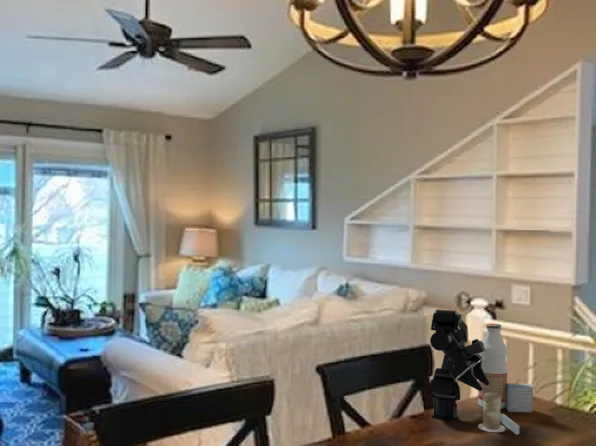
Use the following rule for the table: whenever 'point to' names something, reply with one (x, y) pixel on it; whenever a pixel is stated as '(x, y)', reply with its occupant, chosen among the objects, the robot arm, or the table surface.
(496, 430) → the pad
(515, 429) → the acrylic wall
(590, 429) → the table surface
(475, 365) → the robot arm
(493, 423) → the birch cylinder
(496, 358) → the fruit juice
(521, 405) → the medicine box
